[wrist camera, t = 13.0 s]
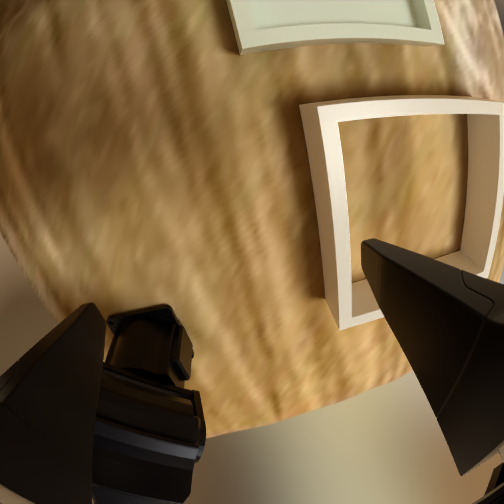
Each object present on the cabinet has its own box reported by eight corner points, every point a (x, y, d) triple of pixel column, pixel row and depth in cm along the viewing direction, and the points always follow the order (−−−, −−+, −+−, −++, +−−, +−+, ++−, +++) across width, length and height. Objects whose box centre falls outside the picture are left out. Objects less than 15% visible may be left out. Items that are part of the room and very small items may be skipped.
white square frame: (325, 299, 25) (339, 330, 22) (298, 104, 17) (317, 106, 14) (465, 256, 25) (488, 277, 21) (472, 96, 17) (505, 102, 14)
